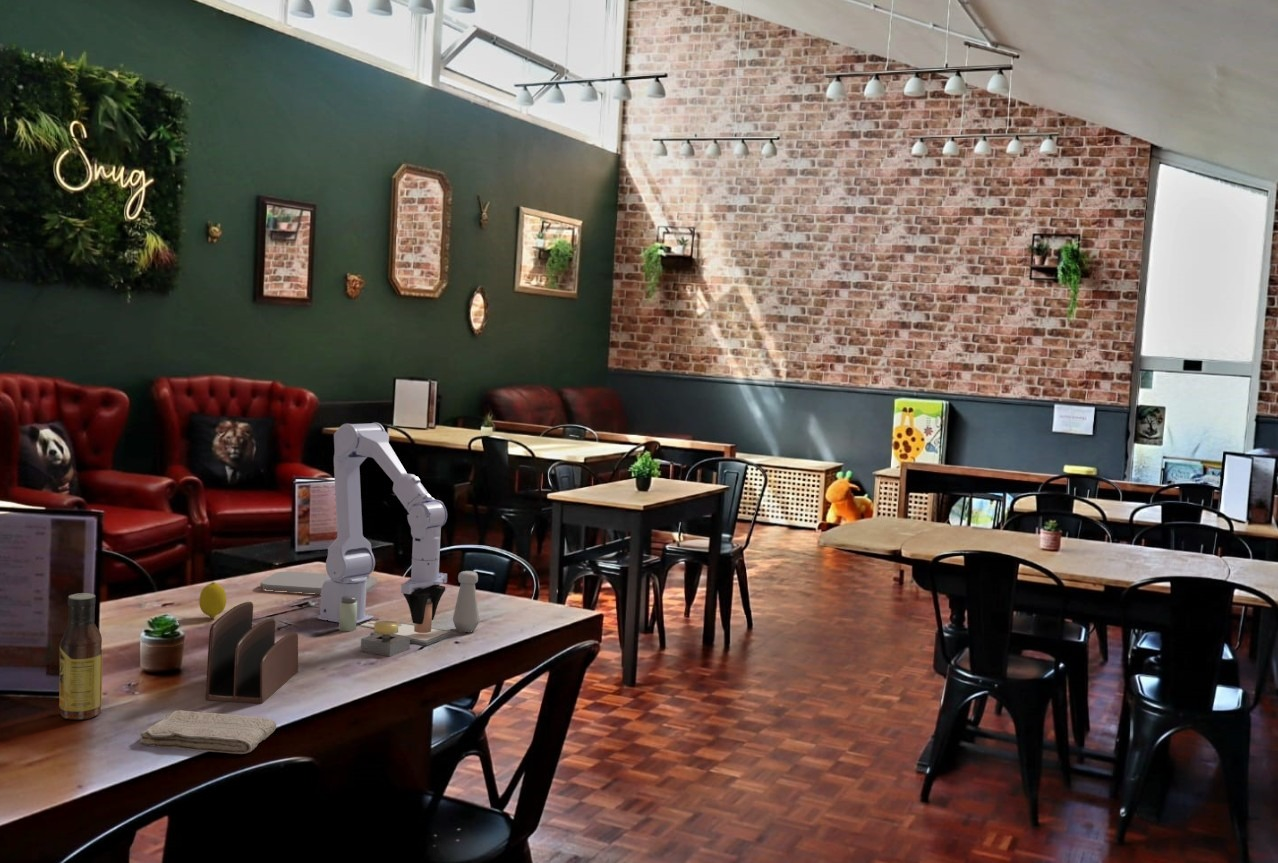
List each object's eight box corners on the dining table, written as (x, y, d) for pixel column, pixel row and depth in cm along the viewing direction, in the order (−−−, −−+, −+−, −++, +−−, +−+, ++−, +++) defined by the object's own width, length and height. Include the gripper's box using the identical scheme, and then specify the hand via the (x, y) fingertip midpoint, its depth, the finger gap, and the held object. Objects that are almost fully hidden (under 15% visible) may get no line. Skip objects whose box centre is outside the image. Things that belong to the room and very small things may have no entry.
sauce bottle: (68, 708, 193) (70, 589, 192) (107, 709, 194) (110, 591, 192) (51, 721, 187) (53, 598, 185) (92, 722, 187) (94, 600, 186)
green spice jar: (335, 629, 252) (336, 597, 252) (345, 626, 256) (347, 594, 255) (349, 632, 251) (350, 600, 250) (359, 628, 254) (360, 597, 254)
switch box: (360, 651, 237) (361, 638, 237) (381, 643, 244) (381, 631, 243) (389, 656, 234) (390, 644, 234) (409, 648, 241) (410, 636, 241)
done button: (368, 642, 238) (369, 624, 237) (382, 637, 242) (383, 619, 242) (388, 646, 236) (389, 627, 235) (402, 640, 240) (403, 623, 240)
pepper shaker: (410, 631, 248) (412, 598, 248) (419, 627, 252) (420, 595, 251) (426, 633, 247) (427, 601, 247) (434, 630, 251) (435, 597, 250)
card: (360, 625, 257) (360, 624, 257) (371, 622, 261) (371, 620, 260) (379, 629, 255) (379, 627, 255) (390, 625, 259) (390, 623, 259)
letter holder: (204, 701, 201) (207, 620, 200) (246, 669, 221) (248, 595, 220) (262, 705, 201) (265, 624, 200) (298, 672, 221) (301, 598, 220)
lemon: (193, 619, 255) (194, 582, 254) (211, 614, 260) (212, 578, 259) (213, 622, 253) (214, 586, 252) (231, 617, 258) (232, 581, 257)
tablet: (362, 600, 283) (362, 590, 283) (256, 593, 284) (256, 583, 284) (380, 586, 299) (380, 577, 299) (279, 579, 300) (279, 570, 300)
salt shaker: (473, 634, 255) (476, 575, 254) (448, 632, 256) (451, 573, 255) (482, 628, 260) (485, 570, 259) (458, 625, 262) (460, 568, 261)
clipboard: (368, 635, 249) (369, 630, 249) (398, 624, 260) (398, 619, 259) (426, 645, 244) (426, 640, 244) (454, 634, 254) (455, 629, 254)
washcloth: (170, 723, 190) (171, 705, 190) (279, 732, 189) (279, 713, 189) (134, 749, 178) (135, 729, 178) (250, 758, 177) (251, 738, 177)
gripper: (422, 565, 240) (419, 631, 241) (460, 555, 253) (457, 617, 254) (393, 561, 243) (391, 626, 244) (432, 551, 256) (429, 612, 257)
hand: (423, 621), depth 249 cm, fingers closed on pepper shaker, 4 cm apart
